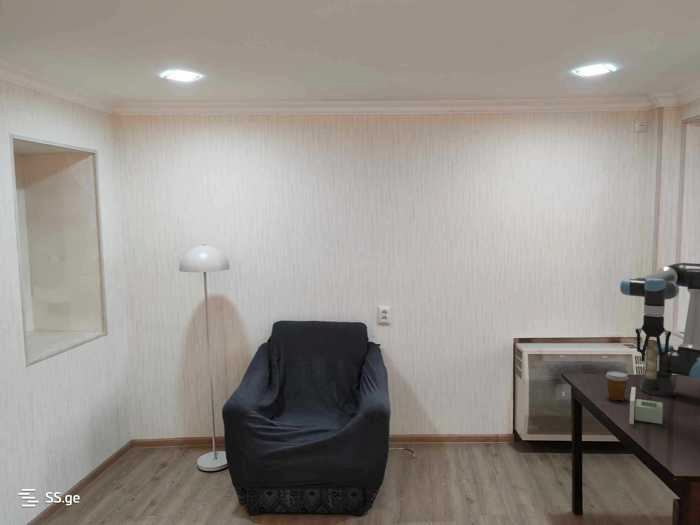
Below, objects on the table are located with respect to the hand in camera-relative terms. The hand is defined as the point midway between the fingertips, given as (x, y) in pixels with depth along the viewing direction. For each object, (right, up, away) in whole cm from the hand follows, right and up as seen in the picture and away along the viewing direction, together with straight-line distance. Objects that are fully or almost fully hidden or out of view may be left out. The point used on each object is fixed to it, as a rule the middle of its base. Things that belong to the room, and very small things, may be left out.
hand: (651, 369), depth 223 cm
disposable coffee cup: (-2, -19, +26) cm, 32 cm away
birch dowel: (0, -4, 0) cm, 4 cm away
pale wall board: (-6, -21, +4) cm, 22 cm away
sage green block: (-1, -21, +1) cm, 21 cm away
